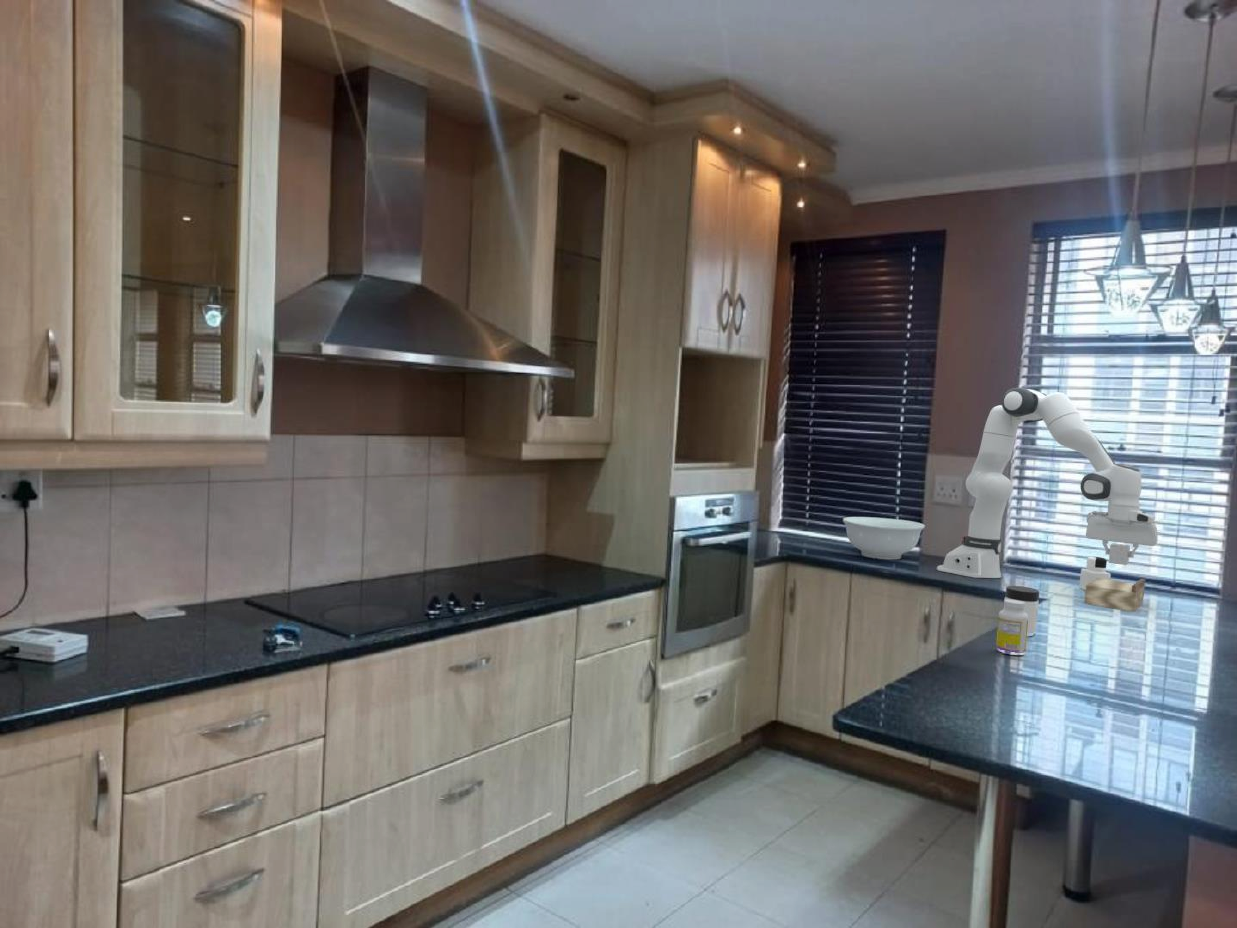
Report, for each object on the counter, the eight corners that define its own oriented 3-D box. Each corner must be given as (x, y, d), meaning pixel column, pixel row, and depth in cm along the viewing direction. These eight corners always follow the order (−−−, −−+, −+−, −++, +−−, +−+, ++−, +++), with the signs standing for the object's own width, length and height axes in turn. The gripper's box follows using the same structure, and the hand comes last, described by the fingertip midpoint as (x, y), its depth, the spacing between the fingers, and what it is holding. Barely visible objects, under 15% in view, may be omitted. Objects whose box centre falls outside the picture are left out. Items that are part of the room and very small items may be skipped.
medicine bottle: (1099, 589, 305) (1103, 556, 304) (1109, 593, 298) (1112, 559, 297) (1078, 588, 306) (1082, 554, 305) (1087, 592, 299) (1091, 558, 298)
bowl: (824, 552, 351) (827, 517, 351) (866, 547, 374) (869, 514, 373) (896, 566, 328) (899, 528, 327) (936, 560, 350) (939, 524, 349)
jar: (1043, 635, 229) (1047, 591, 229) (1022, 637, 226) (1026, 593, 225) (1015, 627, 237) (1019, 584, 237) (994, 629, 234) (998, 585, 233)
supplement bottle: (1010, 648, 214) (1014, 597, 213) (1031, 656, 208) (1036, 604, 207) (989, 649, 211) (993, 598, 211) (1010, 657, 205) (1014, 604, 204)
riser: (1084, 603, 278) (1086, 579, 277) (1095, 595, 293) (1097, 572, 293) (1134, 611, 269) (1136, 586, 269) (1142, 602, 285) (1145, 579, 284)
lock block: (1108, 562, 280) (1110, 544, 280) (1111, 561, 284) (1112, 543, 284) (1126, 565, 277) (1127, 546, 277) (1128, 563, 281) (1130, 545, 281)
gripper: (1085, 511, 283) (1082, 552, 284) (1157, 518, 271) (1154, 561, 272) (1089, 509, 288) (1085, 550, 289) (1160, 517, 276) (1156, 559, 277)
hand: (1119, 555), depth 280 cm, fingers closed on lock block, 5 cm apart
